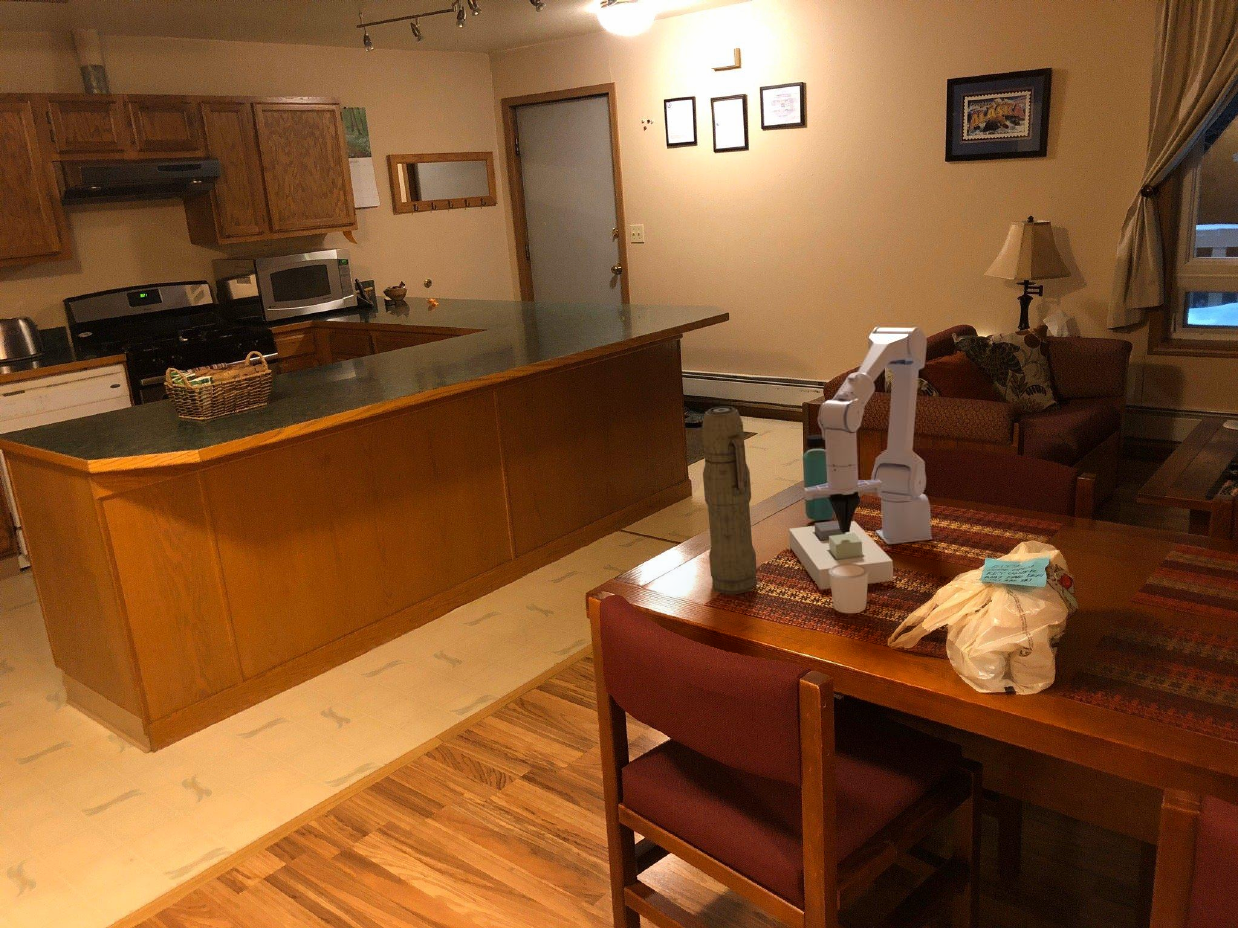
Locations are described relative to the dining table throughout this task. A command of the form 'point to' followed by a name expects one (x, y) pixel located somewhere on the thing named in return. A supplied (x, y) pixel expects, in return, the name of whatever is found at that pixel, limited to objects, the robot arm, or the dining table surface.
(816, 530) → the charcoal key
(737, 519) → the thermos
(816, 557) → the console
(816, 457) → the beverage bottle
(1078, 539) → the dining table surface
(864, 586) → the white cup
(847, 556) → the sage key
